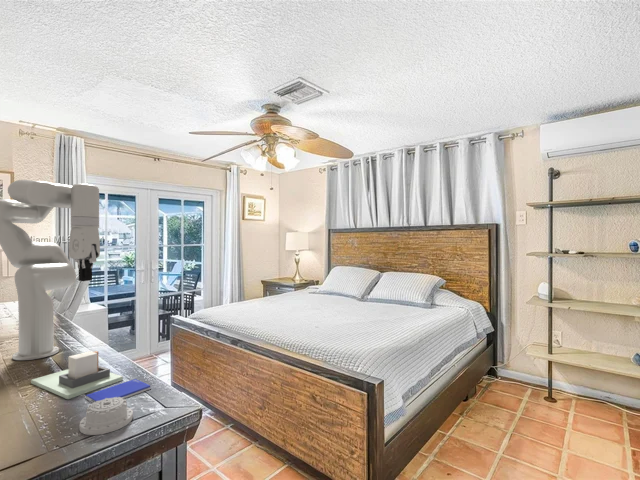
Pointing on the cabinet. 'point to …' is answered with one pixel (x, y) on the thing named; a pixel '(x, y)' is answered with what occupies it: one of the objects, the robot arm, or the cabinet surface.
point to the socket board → (76, 382)
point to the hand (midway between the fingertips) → (85, 280)
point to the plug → (82, 364)
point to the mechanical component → (106, 416)
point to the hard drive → (119, 390)
